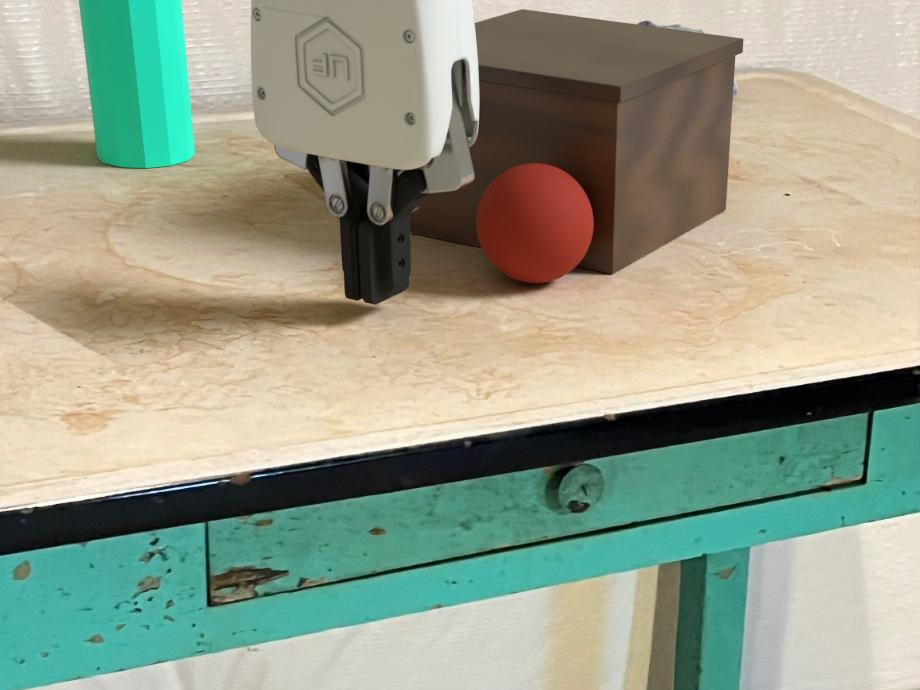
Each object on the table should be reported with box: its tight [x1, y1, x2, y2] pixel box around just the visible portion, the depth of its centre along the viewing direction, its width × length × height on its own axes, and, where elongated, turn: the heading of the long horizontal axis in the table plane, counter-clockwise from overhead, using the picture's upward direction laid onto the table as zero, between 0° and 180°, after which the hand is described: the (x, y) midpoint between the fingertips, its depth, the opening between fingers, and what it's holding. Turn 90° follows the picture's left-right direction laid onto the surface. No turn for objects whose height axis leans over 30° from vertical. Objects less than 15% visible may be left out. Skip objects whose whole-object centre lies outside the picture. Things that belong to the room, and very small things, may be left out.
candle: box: [78, 0, 196, 169], centre depth 104 cm, size 6×6×12 cm
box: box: [410, 8, 744, 275], centre depth 95 cm, size 15×15×10 cm
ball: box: [476, 163, 594, 284], centre depth 87 cm, size 6×6×6 cm
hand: (377, 293), depth 83 cm, fingers closed
